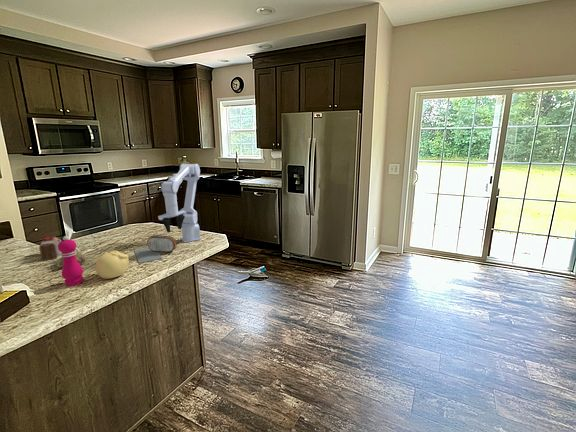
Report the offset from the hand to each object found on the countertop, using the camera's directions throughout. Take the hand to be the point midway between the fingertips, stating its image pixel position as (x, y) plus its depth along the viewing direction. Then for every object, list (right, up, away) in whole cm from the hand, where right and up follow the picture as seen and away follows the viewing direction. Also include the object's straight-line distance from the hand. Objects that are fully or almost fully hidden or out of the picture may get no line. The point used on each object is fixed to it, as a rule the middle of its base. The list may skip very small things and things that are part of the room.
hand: (174, 230), depth 158 cm
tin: (-6, -11, -1) cm, 13 cm away
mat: (-12, -12, -5) cm, 17 cm away
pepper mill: (-28, -20, -34) cm, 48 cm away
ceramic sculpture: (-43, -15, -14) cm, 48 cm away
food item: (-60, -13, -4) cm, 62 cm away
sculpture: (-16, -18, -27) cm, 37 cm away
